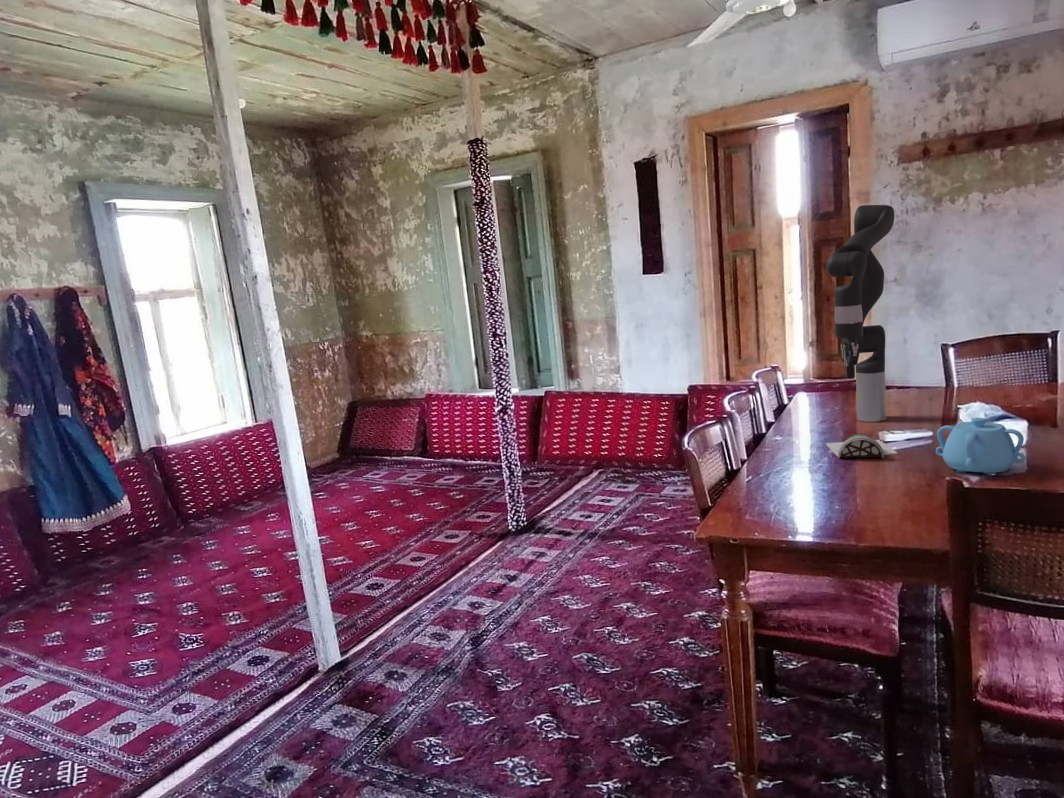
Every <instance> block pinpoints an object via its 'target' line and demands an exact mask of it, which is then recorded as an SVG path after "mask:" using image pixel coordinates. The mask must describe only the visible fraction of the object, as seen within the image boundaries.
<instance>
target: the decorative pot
mask: <svg viewBox="0 0 1064 798" xmlns="http://www.w3.org/2000/svg"><path fill="white" fill-rule="evenodd" d="M944 430H949V431H951V432H950V433H949V435H948V437H947V439H946V441H945V440H944V437H943V431H944ZM1010 434H1012V435H1015V436H1016V437H1017V444H1016V447H1015V444H1014V441H1013V439H1012V437H1011V435H1010ZM936 436H937V440H938V443H939V444H940V446H938V447H936V449H935V454H936V455H937V456H939V457H942V458H943V460H944V462H945V464H946V465H947V467H949V468H951V469H955V472H957V473H967V472H974V473H983V474H984V475H985V474H990V475H989V476H992V475H991V474H996V475H997V473H1003V472H1005V471H1008V469H1010V467H1012V465H1013V464H1014V463H1015V464H1023V463H1024V462H1025V461H1026V455H1025V454H1024V453H1022V452H1020V451H1021V449H1022V447H1023V445H1024V440H1025V438H1024V435H1023V434H1022V433H1021V432H1020V430H1017V429H1013V428H1008V429H1007V428H1006V427H1005V425H1003V424H1002V423H996V422H990V421H987V419H986V418H984V417H973V418H971V419H970V421H964V422H959V423H957V424H956V425H950V424H949V425H948V424H947V425H943V426H941V427H940V428H939V429H938V430H937V432H936ZM940 450H942V452H941V451H940ZM1018 456H1019V457H1020V458H1018Z"/></svg>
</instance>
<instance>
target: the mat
mask: <svg viewBox="0 0 1064 798" xmlns="http://www.w3.org/2000/svg"><path fill="white" fill-rule="evenodd" d="M874 440H875V441H876V442H878V443H879V444H880V446H881V447H882V449H883V451H884V456H890V455H891V456H892V455H895V456H896V455H898V452H897V451H896V450H894V449H893V448H892V447H890V446H889V445H888V444H886V443H885V442H884V441H883V440H881V439H874ZM880 440H881V441H880ZM883 442H884V443H883ZM843 443H844V441H841V442H840V441H839V442H825V446H827V448H829V449H830V450H831V451H832V452H833V453H834V455H836V456H837V457H838V451H839V448H840V446H841V445H842V444H843Z"/></svg>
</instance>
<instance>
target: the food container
mask: <svg viewBox="0 0 1064 798" xmlns="http://www.w3.org/2000/svg"><path fill="white" fill-rule="evenodd" d="M875 440H876V439H874V438H872V437H871V436H870V435H868V434H867V433H860V432H858V433H853V434H851V435H849V436H848V437H847V438H845V440H844V441H843V442H844V443H843V444H842V445H841V446H840V448H839V451H838V456H837V458H839V459H841V458H840V457H844V458H882V459H883V458H884V459H885V455H884V451H883V449H882V447H881V446H880V444H879V443H878V442H876V441H875Z"/></svg>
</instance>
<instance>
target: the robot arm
mask: <svg viewBox="0 0 1064 798" xmlns="http://www.w3.org/2000/svg"><path fill="white" fill-rule="evenodd" d="M894 222H895V210H894V207H893V206H892V205H888V204H865V205H864V204H862V205H859V206H857V208H856V210H855V213H854V218H853V226H854V227H853V229H854V231H853V233H854V234H853V235H851V237H849V239H848V240H847V241H846V243H845V244H844V245H843V246H840V248H838V249H836V250H835V251H834V252H833V253H831V254H830V255H829V257H828V259H827V262H826V272H827V273H828V275H830V277H833V278H846V277H851V279H850V281H849V282H848V283H846V284H843V285H838V286H837V287H835V289H834V314H833V315H834V337H836V338H837V339H842V340H841V343H840V346H839V350H840V355H841V359H842V363H843V365H844V367H845V378H846V379H848V380H853V379H855V385H856V386H855V388H856V389H855V390H856V391H855V392H856V416H857V418H856V419H857V420H858V421H861V422H868V423H871V422H873V423H875V422H883V421H885V420H887V394H886V390H887V389H886V331H885V328H884V327H883V326H882V325H880V324H879V325H877V324H875V325H864V323H865V320H866V318H867V316H868V315H869V313H870V311H871V310H872V309H873V307H874V306H875V305H876V303H877V302H878V300H879V299H880V298H881V296H882V294H883V292H884V287H885V271H884V269H883V267H882V265H881V263H880V261H879V260H878V258H877V257H876V255H875V254H874V252H873V251H872V249H873V248H874V246H875V245H877V244H878V243H879V242H880V241H881V240H882V239H884V237H886V236H887V235H888V234H889V233H890V232H891V230H892V228H893V226H894ZM866 353H872V354H871V355H870V356H869V357H868V358H866V359H865V360H863V361H859V357H860V354H866Z"/></svg>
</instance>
